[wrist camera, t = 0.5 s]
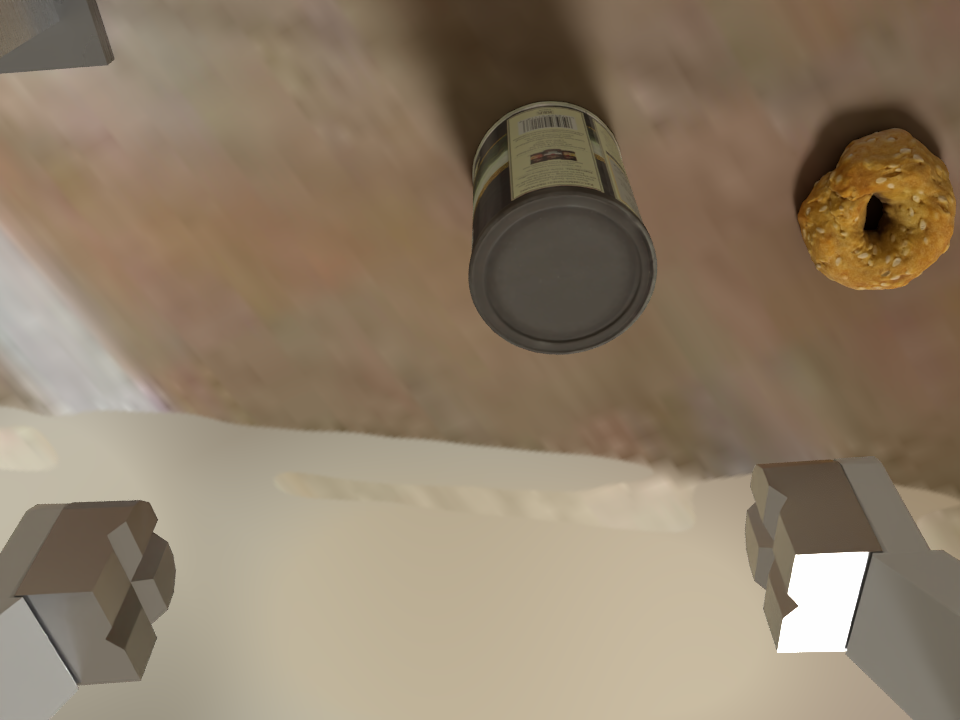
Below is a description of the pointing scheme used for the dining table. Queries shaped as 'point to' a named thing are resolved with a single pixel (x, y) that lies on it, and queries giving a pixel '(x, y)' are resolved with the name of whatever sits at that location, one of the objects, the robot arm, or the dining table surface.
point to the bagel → (906, 213)
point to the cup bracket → (51, 35)
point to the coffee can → (556, 232)
